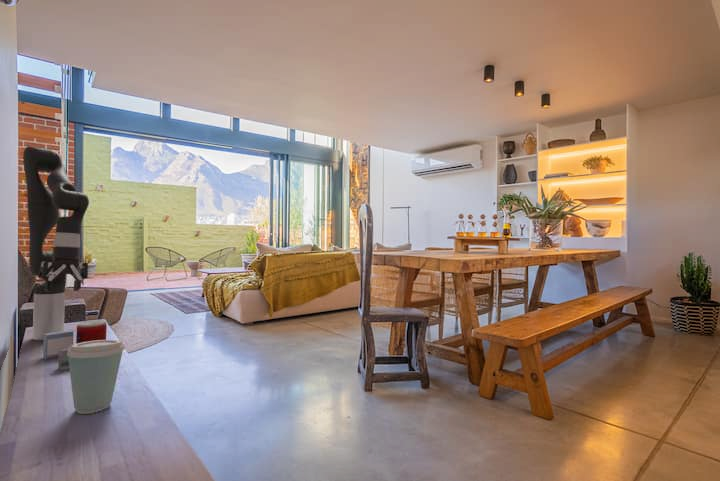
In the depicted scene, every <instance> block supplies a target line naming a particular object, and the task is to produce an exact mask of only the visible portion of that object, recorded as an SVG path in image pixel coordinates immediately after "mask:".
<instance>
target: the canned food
mask: <svg viewBox="0 0 720 481" xmlns="http://www.w3.org/2000/svg"><path fill="white" fill-rule="evenodd" d="M107 325H108V324H107V320H105V319H104V320H102V319H101V320H100V319H94V320H86V321H81V322H79V323H77V324H76V336H75V337H76V340H75V341H76V343H75V344H77V343H82V342H88V341H95V340H107V328H108V327H107Z"/></svg>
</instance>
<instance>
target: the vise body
mask: <svg viewBox="0 0 720 481" xmlns="http://www.w3.org/2000/svg"><path fill="white" fill-rule="evenodd" d="M70 348H71V347H69V348H63V349H59V357H58V371H59V372H60V373H65V372H70V368H69V360H68V355H67V351H68V350H69V349H70Z"/></svg>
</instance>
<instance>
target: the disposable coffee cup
mask: <svg viewBox="0 0 720 481" xmlns="http://www.w3.org/2000/svg"><path fill="white" fill-rule="evenodd" d="M124 350H125V344H124V343H123V341H122V340H118V339H106V340H95V341H88V342H82V343H77V344H76V343H73V345H72V346H71V348H70V349H69V350H68V351H67V355H68V360H69V368H70V371H69V376H70V383H71V392H72V400H73V409H75V412H76V413H77V414H81V415H87V414H89V415H90V414H95V412H96V413H98V411H100V410H103V409H105V408H107V407H108V408H109V407H110V406H111V403H112V402H113V398H114V397H113V396H114V392H115V387H116V383H117V378H118V373H119V369H120V366H121V365H120V364H121V360H122V355H123V352H124ZM108 408H107V409H108ZM105 410H106V409H105ZM103 411H104V410H103ZM100 412H101V411H100Z"/></svg>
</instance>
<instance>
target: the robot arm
mask: <svg viewBox="0 0 720 481" xmlns="http://www.w3.org/2000/svg"><path fill="white" fill-rule="evenodd" d="M22 159H23V160H22V161H23V162H22V163H23V169H24V175H25V181H26V193H27V195H26V196H27V218H28V228H29V229H28V230H29V251H28V252H29V254H28V255H29V256H28V265H29V266H28V267H29V271H30V273H31V275H33V276H37V278H38V279H40V280H43V281H44V282H43V283H40V284H37V285H35V286H34V288H33V310H32V311H33V313H32V314H33V315H32V316H33V318H32V340H34V341H44V334H46V333H53V332H60V331H65V310H66V309H65V307H66V306H65V305H66V304H65V303H66V299H65V298H66V286H67V285H66V284H67V275H71V276H72V277H73V279H74V283H73V291H74V292H75V291H76V292H78V291H80V289H81V288H82V281H83V280H85V279H88V277H89V275H88V274H89V263H88V262H85V261H84V262H83V261H82V262H80V261H79V259H80V251H81V250H80V249H81V226H82V221H83V219H84V216H85V214H86V211H87V210H88V207H89V203H90V200H89V198H88V196H87V195H86V194H85V193H83V192H78V191H76V187H75V186H74V184H73V183H72V181H71V180H70V178H69V177H68V175H67V172H66V168H65V165H64V163H63V159H62V157H61V155H60V153H58V152H57V151H55V150H52V149H48V148H41V147H36V146H26V147H25V148H24V150H23V153H22ZM39 172H44V173H49V174H48V176H47V178H46V185H47V186H46V185H45V184H44V182H43V180H42V179H41V177H40V174H39ZM47 187H48V188H49V189H48V188H47ZM59 210H64V211H71V212H72V211H73V213H71V215H69V216H60V215H59V214H60V213H59ZM54 227H55V234H54V238H53V247H52V248H53V249H52V251H50V250H49V251H47V250H46V251H44V250H43V245H44V242H45V240H46V238H47V236H48V235H49V233H51V231H52V230H53V229H54ZM78 267H79V269H80V272H79V271H78V270H77V269H78Z"/></svg>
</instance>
